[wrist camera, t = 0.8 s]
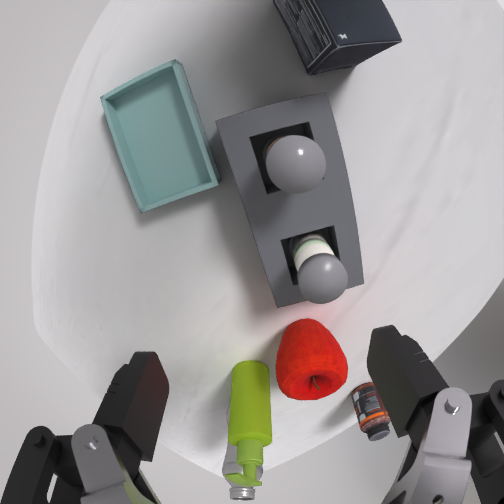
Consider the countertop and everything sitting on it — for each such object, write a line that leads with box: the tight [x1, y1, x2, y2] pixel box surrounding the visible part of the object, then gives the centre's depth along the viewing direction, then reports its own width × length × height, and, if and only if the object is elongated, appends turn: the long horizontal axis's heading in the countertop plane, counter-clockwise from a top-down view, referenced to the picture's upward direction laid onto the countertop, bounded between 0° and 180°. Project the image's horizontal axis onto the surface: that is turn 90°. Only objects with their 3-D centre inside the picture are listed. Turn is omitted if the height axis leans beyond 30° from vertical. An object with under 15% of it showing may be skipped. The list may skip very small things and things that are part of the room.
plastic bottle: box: [222, 405, 263, 501], centre depth 37 cm, size 6×7×20 cm
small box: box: [273, 0, 402, 75], centre depth 16 cm, size 11×6×10 cm, turn 21°
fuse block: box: [215, 92, 364, 308], centre depth 25 cm, size 20×10×10 cm, turn 17°
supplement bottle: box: [352, 382, 391, 441], centre depth 40 cm, size 6×6×11 cm
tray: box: [100, 59, 221, 213], centre depth 25 cm, size 14×9×2 cm, turn 17°
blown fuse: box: [262, 134, 326, 194], centre depth 22 cm, size 4×4×9 cm
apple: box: [276, 318, 348, 400], centre depth 32 cm, size 9×9×11 cm
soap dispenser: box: [225, 361, 272, 487], centre depth 32 cm, size 6×7×20 cm
